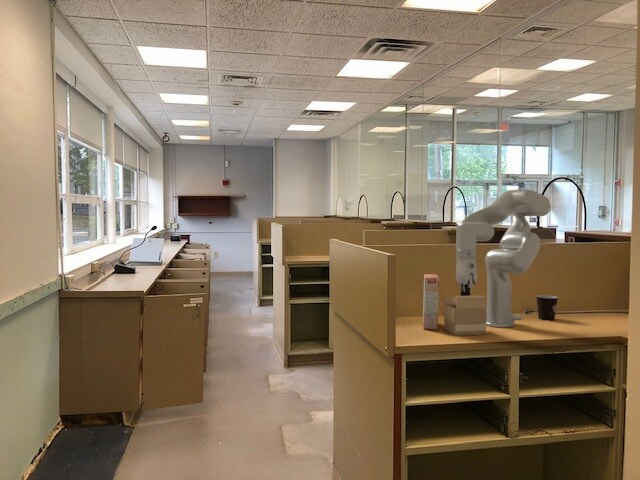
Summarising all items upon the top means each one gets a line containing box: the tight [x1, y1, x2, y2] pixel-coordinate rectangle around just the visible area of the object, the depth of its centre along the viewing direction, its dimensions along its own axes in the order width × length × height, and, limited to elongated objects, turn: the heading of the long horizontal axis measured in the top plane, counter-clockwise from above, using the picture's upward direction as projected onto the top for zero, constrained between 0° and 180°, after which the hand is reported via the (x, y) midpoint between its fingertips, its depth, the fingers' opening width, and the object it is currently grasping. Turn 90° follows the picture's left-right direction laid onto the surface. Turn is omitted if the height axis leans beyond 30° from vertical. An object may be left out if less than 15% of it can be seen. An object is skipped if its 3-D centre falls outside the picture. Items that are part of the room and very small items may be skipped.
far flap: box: [441, 296, 456, 305], centre depth 199 cm, size 11×5×1 cm, turn 97°
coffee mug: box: [536, 294, 559, 322], centre depth 216 cm, size 12×9×10 cm
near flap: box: [455, 294, 487, 309], centre depth 186 cm, size 11×5×1 cm
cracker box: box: [422, 273, 440, 331], centre depth 201 cm, size 14×6×21 cm, turn 168°
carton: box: [443, 304, 487, 337], centre depth 191 cm, size 13×11×10 cm
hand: (465, 301), depth 190 cm, fingers closed
